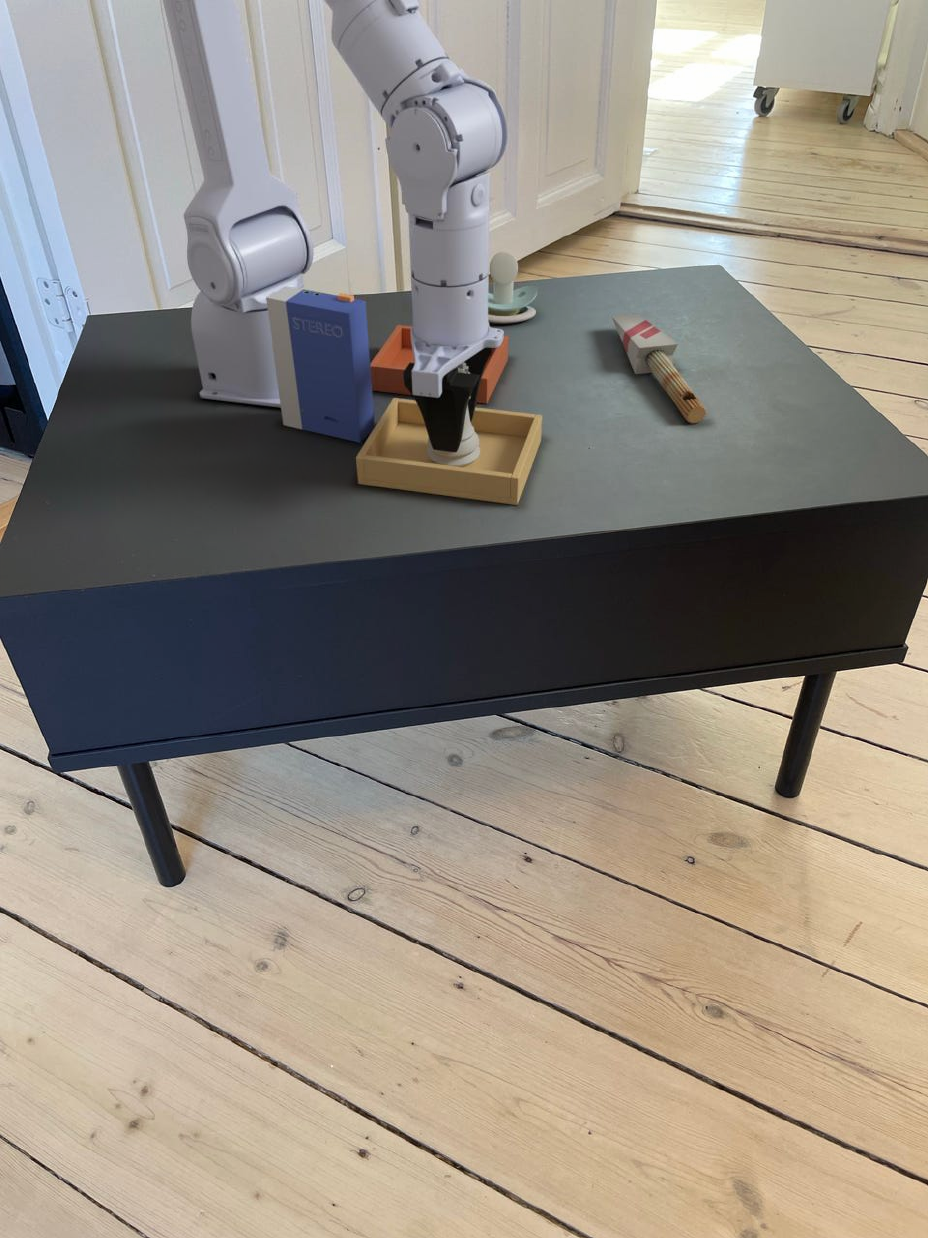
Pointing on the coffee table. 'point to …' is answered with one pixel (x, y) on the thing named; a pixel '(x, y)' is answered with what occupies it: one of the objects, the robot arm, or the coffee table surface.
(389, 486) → the birch tray
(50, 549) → the coffee table surface
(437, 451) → the rook chess piece
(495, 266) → the pacifier
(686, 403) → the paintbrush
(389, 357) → the terracotta tray
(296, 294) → the walkman
